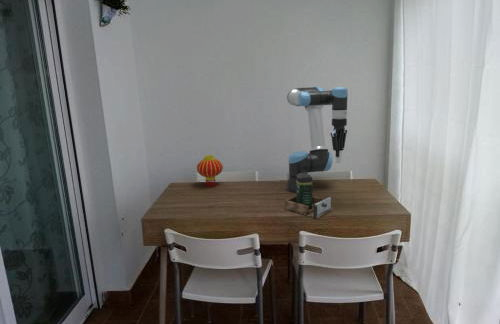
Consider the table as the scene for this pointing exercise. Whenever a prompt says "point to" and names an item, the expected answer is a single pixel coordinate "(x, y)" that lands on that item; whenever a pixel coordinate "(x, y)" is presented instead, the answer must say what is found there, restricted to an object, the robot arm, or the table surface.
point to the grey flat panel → (323, 205)
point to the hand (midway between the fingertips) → (338, 162)
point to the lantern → (209, 168)
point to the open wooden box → (304, 207)
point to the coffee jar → (304, 189)
